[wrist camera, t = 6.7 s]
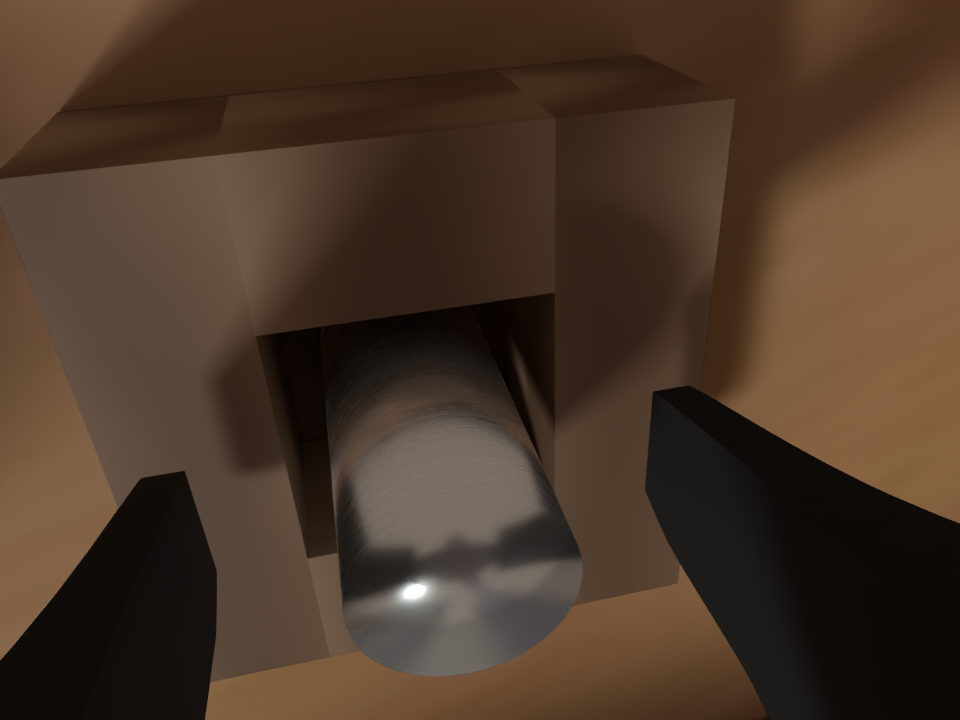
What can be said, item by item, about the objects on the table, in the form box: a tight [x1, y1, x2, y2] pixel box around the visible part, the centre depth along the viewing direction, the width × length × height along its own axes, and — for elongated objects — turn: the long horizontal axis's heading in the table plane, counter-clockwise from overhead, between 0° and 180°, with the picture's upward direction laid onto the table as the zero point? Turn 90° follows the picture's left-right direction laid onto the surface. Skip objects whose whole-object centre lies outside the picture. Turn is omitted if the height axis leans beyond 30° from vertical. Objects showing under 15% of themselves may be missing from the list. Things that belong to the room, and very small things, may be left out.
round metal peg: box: [320, 305, 583, 676], centre depth 13 cm, size 3×3×7 cm
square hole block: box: [0, 55, 735, 682], centre depth 15 cm, size 10×10×4 cm
